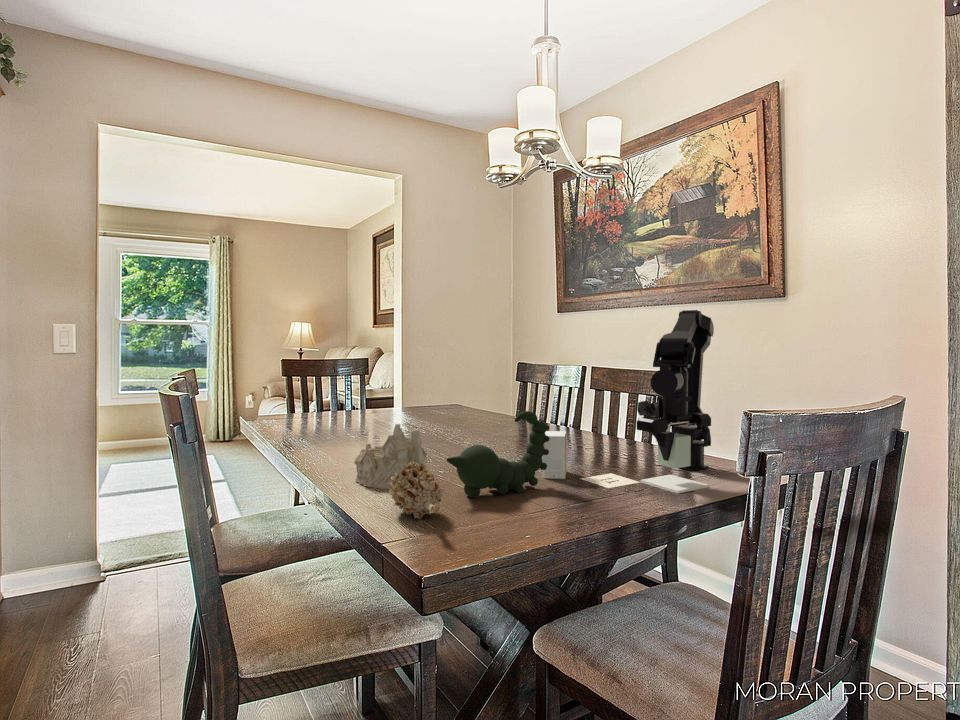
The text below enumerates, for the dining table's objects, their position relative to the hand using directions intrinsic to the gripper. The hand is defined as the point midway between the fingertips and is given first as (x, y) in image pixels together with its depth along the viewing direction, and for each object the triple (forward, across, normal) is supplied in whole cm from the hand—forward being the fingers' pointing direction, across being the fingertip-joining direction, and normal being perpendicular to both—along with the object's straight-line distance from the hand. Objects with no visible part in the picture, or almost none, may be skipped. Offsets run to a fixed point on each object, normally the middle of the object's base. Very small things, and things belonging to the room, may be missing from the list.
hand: (674, 459), depth 131 cm
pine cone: (+6, +60, -7) cm, 61 cm away
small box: (+6, +18, -22) cm, 29 cm away
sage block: (+1, 0, 0) cm, 1 cm away
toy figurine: (+6, +38, -16) cm, 42 cm away
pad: (+6, 0, 0) cm, 6 cm away
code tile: (+6, +10, -10) cm, 16 cm away
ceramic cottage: (+6, +54, -38) cm, 66 cm away
